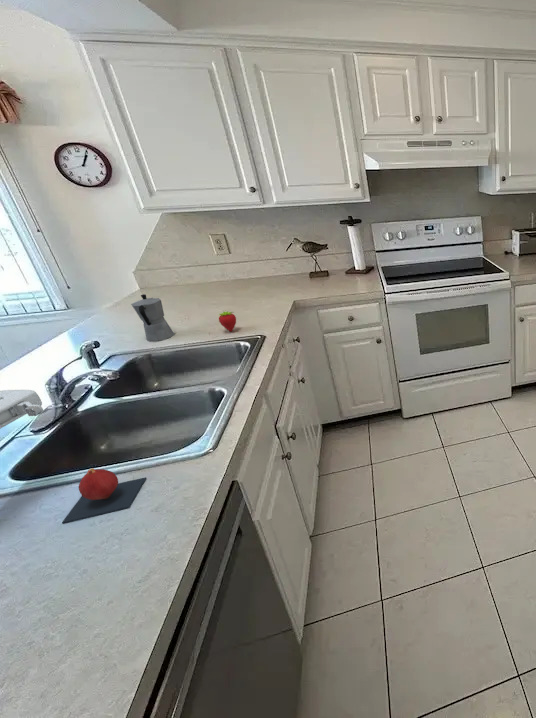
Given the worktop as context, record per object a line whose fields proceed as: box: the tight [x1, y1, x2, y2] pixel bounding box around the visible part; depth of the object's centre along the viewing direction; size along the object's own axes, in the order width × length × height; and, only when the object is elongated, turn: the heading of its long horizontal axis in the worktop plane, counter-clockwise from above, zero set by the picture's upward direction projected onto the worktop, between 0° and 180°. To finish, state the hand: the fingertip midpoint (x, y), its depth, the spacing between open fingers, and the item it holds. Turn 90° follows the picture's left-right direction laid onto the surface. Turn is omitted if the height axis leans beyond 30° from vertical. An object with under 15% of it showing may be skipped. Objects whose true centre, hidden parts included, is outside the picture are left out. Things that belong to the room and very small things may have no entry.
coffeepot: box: [130, 293, 175, 343], centre depth 160 cm, size 15×9×18 cm, turn 27°
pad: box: [61, 476, 148, 525], centre depth 87 cm, size 11×9×1 cm
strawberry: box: [218, 311, 237, 333], centre depth 166 cm, size 6×8×10 cm
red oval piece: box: [78, 467, 119, 500], centre depth 85 cm, size 6×6×8 cm
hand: (14, 424), depth 78 cm, fingers open, 8 cm apart
